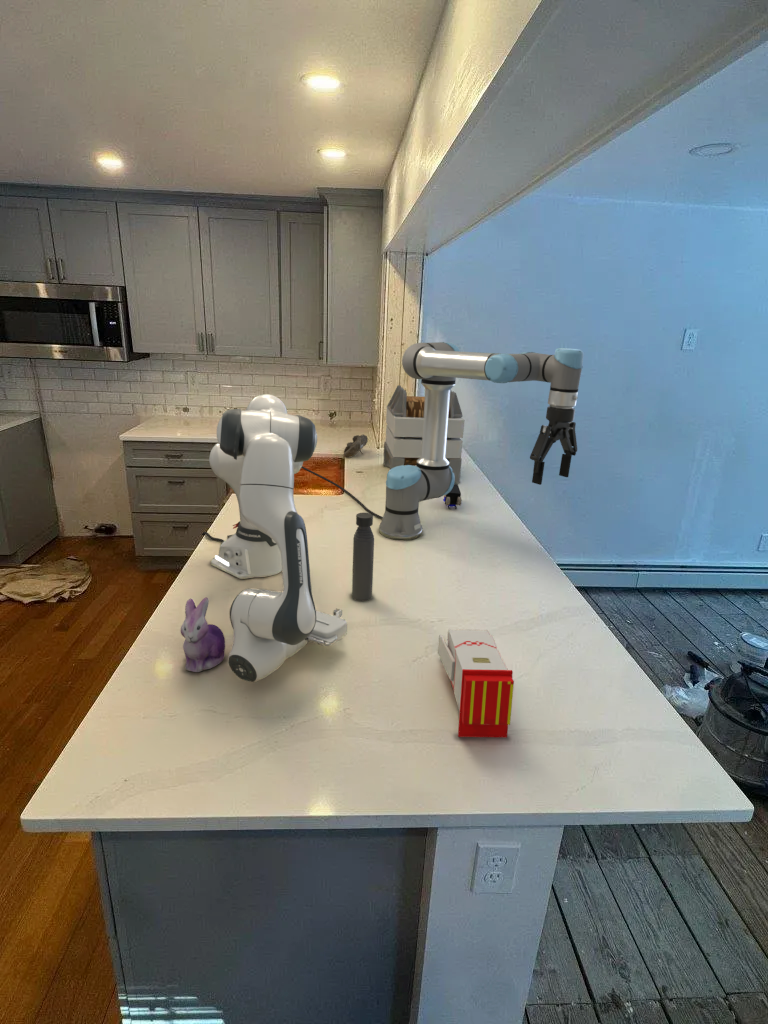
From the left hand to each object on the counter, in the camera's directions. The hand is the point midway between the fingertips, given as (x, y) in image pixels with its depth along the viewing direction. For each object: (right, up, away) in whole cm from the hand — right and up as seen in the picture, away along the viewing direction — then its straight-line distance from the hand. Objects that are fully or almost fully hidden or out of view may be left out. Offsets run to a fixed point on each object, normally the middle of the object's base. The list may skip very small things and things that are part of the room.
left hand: (323, 606), depth 138 cm
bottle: (+9, 0, +18) cm, 20 cm away
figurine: (-25, -10, -13) cm, 30 cm away
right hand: (+63, +32, +27) cm, 76 cm away
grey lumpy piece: (-1, +54, +168) cm, 176 cm away
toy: (+33, -15, -19) cm, 41 cm away
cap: (+10, +22, +10) cm, 26 cm away
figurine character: (+42, +26, +94) cm, 106 cm away
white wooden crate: (+32, +42, +137) cm, 147 cm away
